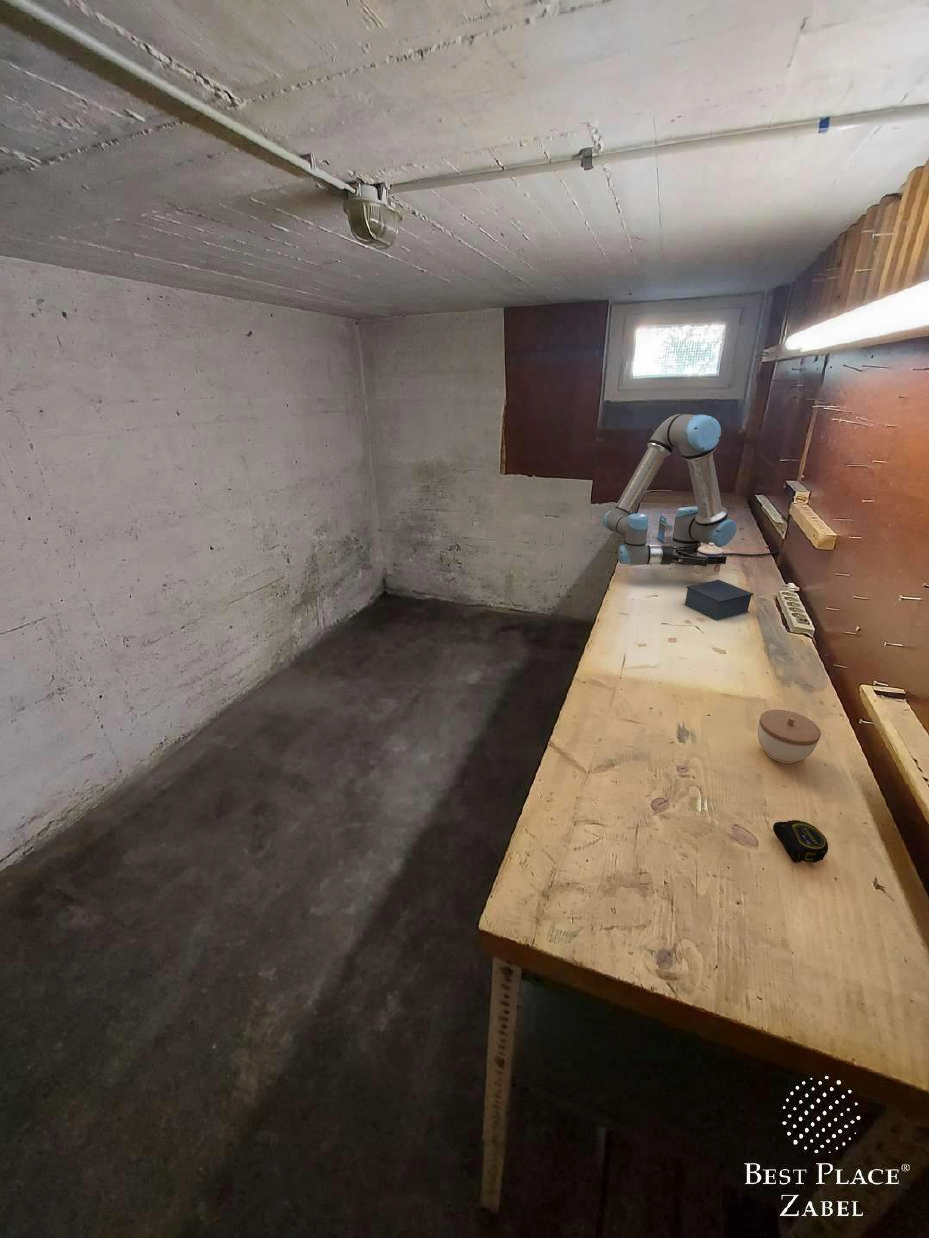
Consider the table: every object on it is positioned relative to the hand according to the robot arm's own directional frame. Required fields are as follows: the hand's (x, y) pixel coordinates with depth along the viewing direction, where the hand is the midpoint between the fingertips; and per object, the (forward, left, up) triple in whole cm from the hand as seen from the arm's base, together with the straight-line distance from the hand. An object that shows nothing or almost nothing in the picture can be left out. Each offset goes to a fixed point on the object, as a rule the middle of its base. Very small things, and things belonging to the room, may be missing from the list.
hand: (720, 555), depth 183 cm
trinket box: (+62, +78, -12) cm, 101 cm away
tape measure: (+81, +96, -12) cm, 126 cm away
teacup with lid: (+3, -2, -7) cm, 8 cm away
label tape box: (-23, -54, -12) cm, 60 cm away
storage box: (+17, +17, -12) cm, 27 cm away
